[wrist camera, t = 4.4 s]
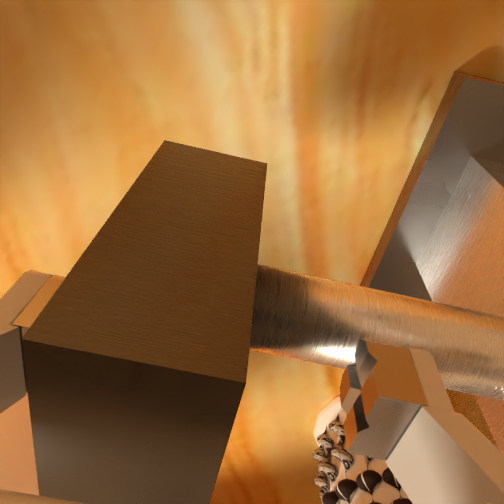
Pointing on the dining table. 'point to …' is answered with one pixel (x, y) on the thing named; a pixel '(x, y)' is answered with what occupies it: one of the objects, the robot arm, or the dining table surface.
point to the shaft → (200, 335)
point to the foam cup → (17, 450)
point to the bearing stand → (453, 215)
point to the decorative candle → (350, 466)
